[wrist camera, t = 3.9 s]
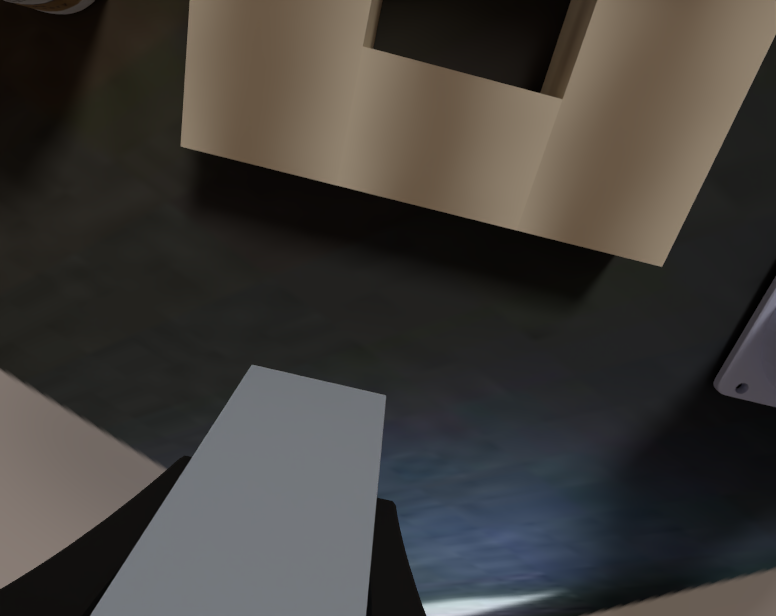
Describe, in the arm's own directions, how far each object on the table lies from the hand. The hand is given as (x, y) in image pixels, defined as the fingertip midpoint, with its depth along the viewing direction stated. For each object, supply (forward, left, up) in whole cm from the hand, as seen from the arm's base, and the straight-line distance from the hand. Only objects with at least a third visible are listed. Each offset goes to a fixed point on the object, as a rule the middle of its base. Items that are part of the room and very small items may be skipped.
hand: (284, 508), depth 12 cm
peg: (0, 0, -3) cm, 3 cm away
